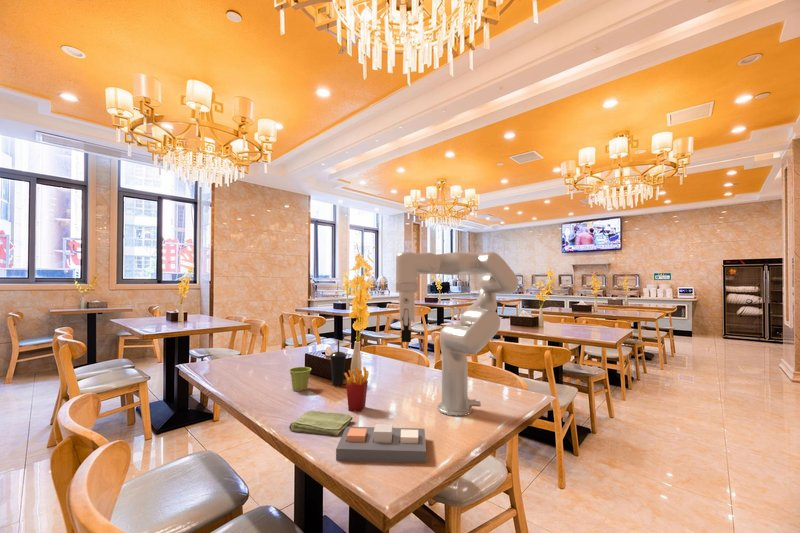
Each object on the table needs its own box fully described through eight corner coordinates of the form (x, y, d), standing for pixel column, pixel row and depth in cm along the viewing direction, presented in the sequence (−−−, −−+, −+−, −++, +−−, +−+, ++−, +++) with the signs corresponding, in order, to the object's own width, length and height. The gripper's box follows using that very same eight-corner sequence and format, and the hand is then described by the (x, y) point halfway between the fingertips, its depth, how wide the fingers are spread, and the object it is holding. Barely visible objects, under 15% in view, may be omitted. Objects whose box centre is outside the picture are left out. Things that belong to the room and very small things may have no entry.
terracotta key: (366, 439, 101) (367, 428, 101) (364, 447, 96) (364, 436, 96) (349, 439, 101) (350, 428, 102) (346, 447, 96) (346, 435, 97)
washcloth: (339, 438, 105) (339, 428, 105) (286, 432, 109) (287, 422, 109) (354, 421, 118) (354, 412, 118) (306, 416, 122) (306, 407, 122)
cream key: (418, 441, 101) (418, 429, 101) (418, 449, 96) (418, 437, 96) (400, 440, 101) (401, 429, 101) (400, 448, 96) (400, 437, 96)
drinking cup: (338, 388, 153) (339, 342, 154) (325, 385, 157) (326, 340, 158) (349, 383, 160) (350, 340, 160) (337, 381, 164) (337, 338, 164)
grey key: (392, 435, 101) (392, 424, 101) (391, 443, 96) (391, 432, 96) (375, 435, 101) (375, 424, 101) (373, 443, 96) (373, 431, 96)
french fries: (362, 412, 125) (363, 371, 125) (341, 411, 126) (341, 369, 127) (369, 404, 133) (370, 365, 134) (349, 402, 135) (350, 364, 136)
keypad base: (424, 438, 105) (424, 428, 105) (426, 462, 91) (426, 451, 91) (346, 436, 106) (346, 426, 106) (335, 460, 92) (336, 448, 92)
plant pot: (294, 385, 156) (294, 366, 157) (314, 386, 155) (314, 367, 155) (284, 392, 147) (285, 371, 147) (305, 393, 146) (306, 372, 146)
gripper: (417, 288, 111) (417, 346, 111) (417, 287, 126) (416, 338, 126) (394, 288, 112) (394, 345, 111) (396, 287, 127) (396, 338, 126)
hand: (406, 341), depth 118 cm, fingers closed
